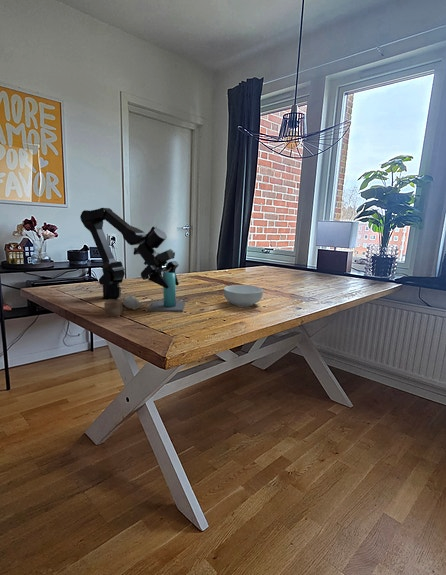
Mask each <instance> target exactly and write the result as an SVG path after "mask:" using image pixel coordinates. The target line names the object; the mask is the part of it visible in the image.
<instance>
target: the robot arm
mask: <svg viewBox="0 0 446 575" xmlns="http://www.w3.org/2000/svg"><path fill="white" fill-rule="evenodd" d="M79 219H80V221H81V223H82V224H83V226H84V228H85V229H86V230H87V231H89V233H90V234H91V237H92V238H93V241H94V243H95V246H96V249H97V251H98V254H99V256H100V258H101V261H102V269H101V270H102V275H101V276H100V278H98V282H99V285H101V286H102V297H101V300H103V299H104V300H108V299H114V300H119V298H120V297H121V296H122V290H121V287H122V286H120V284H122V283H123V280H124V277H125V270H126V268H124V265H123V263H122V261H120V260H119V261H117V260H116V258H115V256H114V253H113V251H112V249H111V247H110V244H109V242H108V239H107V237H106V235H105V233H104V232H105V231H104V228H103V227H104V221H106V222H107V223H108V224H109V225H110V226H112V227H113V228H115V229H116V230H117V231H118V232H120V234H121V235H122V238H123V240H125V241H126V243H127V244H128V245H129V246H137V247H134V248H133V252H132V253H133V255H134V256H135V255H140V257H141V258H142V260H143V261H144V262H143V264H144V266H146V267H144V269H143V270H142V271H141V272H140V277H141V278H142V280H143V281H150V282H153V283H154V284H157V285H158V286H161V287H162V288H163V287H164V288H166V289H168V288H169V286H168V284H167V283H166V281H165V280H164V278H163V273H167V272H172V273H175V286H179V284H180V283H179V280H178V277H177V274H176V269H177V268H178V267H179V265H180V264H179V263H178V262H177V261H176V260H174V259H175V256H176V252H175V251H174V250H173V249H171V248H170V249H167V250H165V251H163V252H157V251H156V250H155V249H158V248H160V246H161V245H162V244H163V243H164V242H165V240H167V238H168V237H167V234H166V233H165V232H164V231H163V230H162V229H160V228H158V226H152V227H151V228H150V230H149V231H148V233H145V231H143V230H141V229H140V228H138V227H135V226H132V225H130V224H129V223H128V222H127V221H125V220H124V219H123V218H122V217H120V216H119V215H118V214H117V213H115V212H114V210H112V209H111V208H109V207H99V208H97V209H91V210H90V209H89V210H87V209H84V210H83V211H82V212H81V214H80V218H79ZM170 260H173V261H170Z"/></svg>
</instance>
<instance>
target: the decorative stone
mask: <svg viewBox="0 0 446 575" xmlns="http://www.w3.org/2000/svg"><path fill="white" fill-rule="evenodd" d="M140 304H141V303H140V300H139V299H138V298H137V297H136V296H134V295H132V294H130V295H129V294H128V295H126V296H124V297H123V298H122V305H123V306H125V307H126V308H128V309H130V310H133V311H135V310H137V309H138V308H139V307H140Z"/></svg>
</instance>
